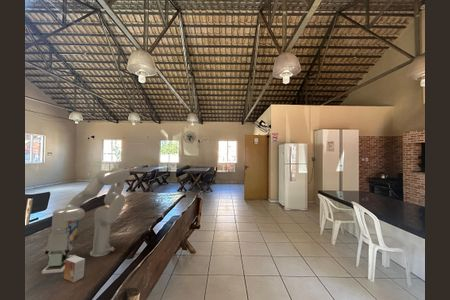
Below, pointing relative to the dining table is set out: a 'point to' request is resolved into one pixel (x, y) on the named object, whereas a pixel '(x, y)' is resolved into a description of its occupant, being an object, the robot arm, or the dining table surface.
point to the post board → (56, 267)
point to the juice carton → (73, 229)
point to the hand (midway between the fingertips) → (57, 261)
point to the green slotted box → (55, 258)
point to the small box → (74, 268)
